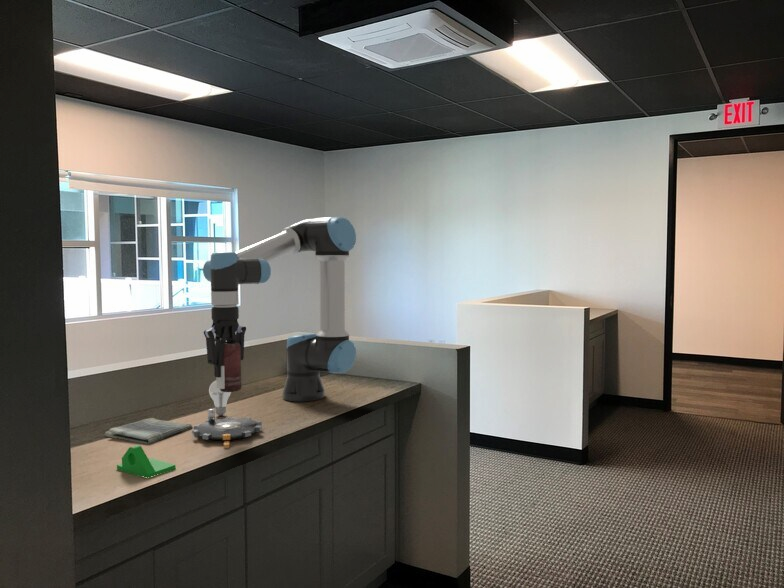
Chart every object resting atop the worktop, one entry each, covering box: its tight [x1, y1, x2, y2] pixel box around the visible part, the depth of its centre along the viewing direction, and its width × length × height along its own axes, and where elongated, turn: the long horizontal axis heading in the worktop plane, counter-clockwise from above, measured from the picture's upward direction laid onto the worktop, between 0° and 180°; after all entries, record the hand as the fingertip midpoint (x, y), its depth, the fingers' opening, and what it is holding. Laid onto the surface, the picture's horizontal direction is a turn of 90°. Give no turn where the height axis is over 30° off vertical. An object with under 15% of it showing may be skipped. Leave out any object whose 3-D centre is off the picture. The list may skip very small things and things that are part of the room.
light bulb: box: [208, 379, 232, 417], centre depth 200 cm, size 7×7×12 cm
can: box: [220, 341, 242, 393], centre depth 179 cm, size 6×6×14 cm
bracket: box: [116, 444, 177, 479], centre depth 151 cm, size 12×8×7 cm, turn 57°
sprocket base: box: [210, 436, 244, 442], centre depth 180 cm, size 12×12×1 cm
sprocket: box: [191, 408, 263, 441], centre depth 179 cm, size 19×20×5 cm
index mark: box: [223, 440, 230, 449], centre depth 168 cm, size 3×1×1 cm, turn 13°
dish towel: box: [104, 417, 194, 445], centre depth 182 cm, size 19×18×3 cm
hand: (226, 386), depth 179 cm, fingers open, 3 cm apart
